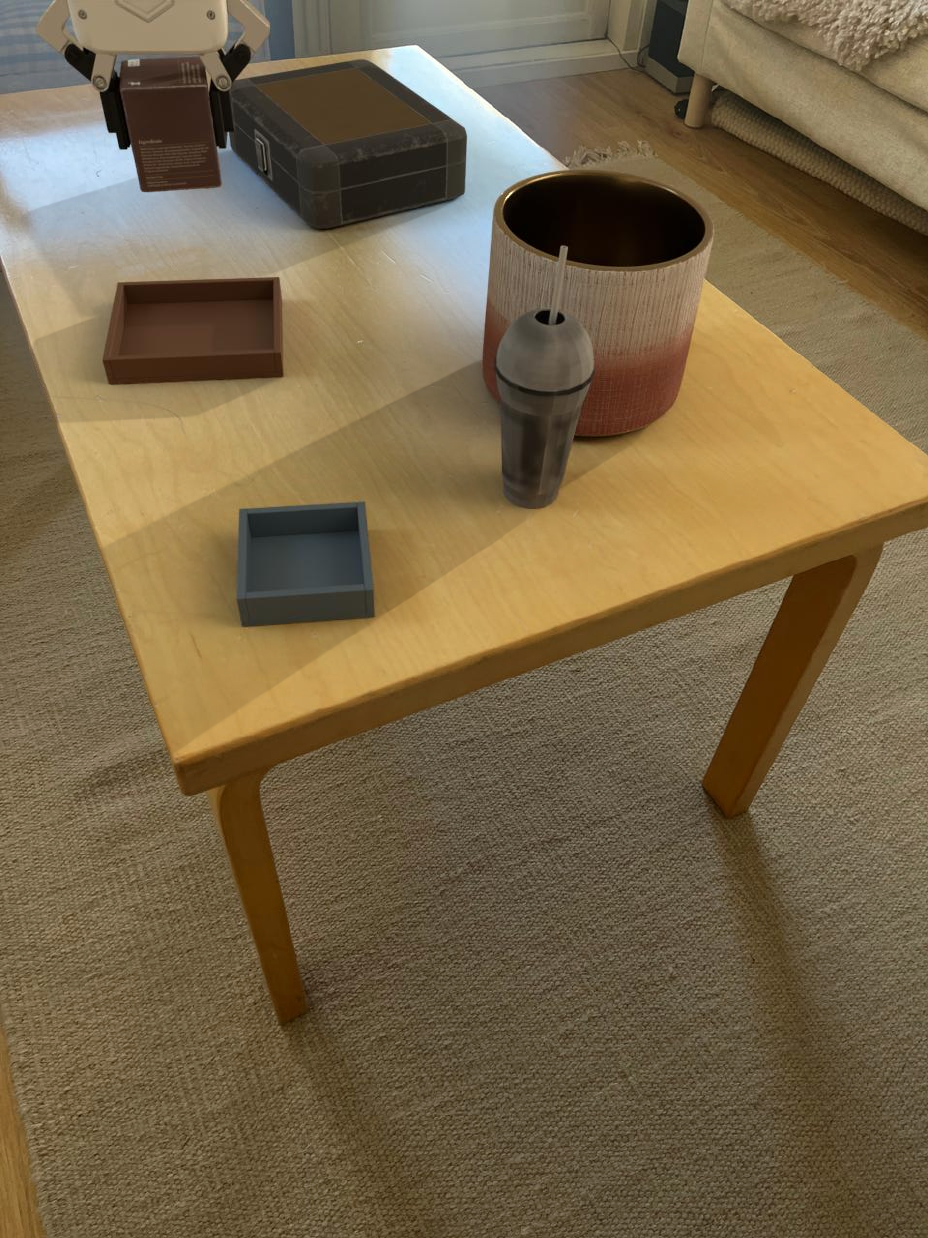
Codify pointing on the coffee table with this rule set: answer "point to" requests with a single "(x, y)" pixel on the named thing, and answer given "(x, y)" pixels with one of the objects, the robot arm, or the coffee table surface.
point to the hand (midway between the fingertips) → (174, 139)
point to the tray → (195, 330)
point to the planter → (604, 282)
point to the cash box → (346, 142)
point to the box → (170, 123)
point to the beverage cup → (541, 397)
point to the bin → (304, 564)
